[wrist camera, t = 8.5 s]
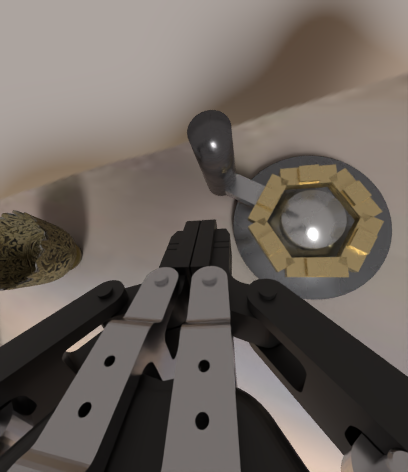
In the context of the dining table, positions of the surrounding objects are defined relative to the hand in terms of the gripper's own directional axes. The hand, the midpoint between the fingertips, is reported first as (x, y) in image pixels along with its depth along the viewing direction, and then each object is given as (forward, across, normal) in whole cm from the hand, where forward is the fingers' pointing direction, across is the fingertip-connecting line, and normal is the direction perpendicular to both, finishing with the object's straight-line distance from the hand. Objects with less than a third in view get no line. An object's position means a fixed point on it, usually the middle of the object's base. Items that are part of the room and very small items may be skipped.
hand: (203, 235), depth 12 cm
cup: (+10, +19, +9) cm, 24 cm away
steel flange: (+11, -9, +7) cm, 16 cm away
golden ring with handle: (+11, -6, +5) cm, 14 cm away
